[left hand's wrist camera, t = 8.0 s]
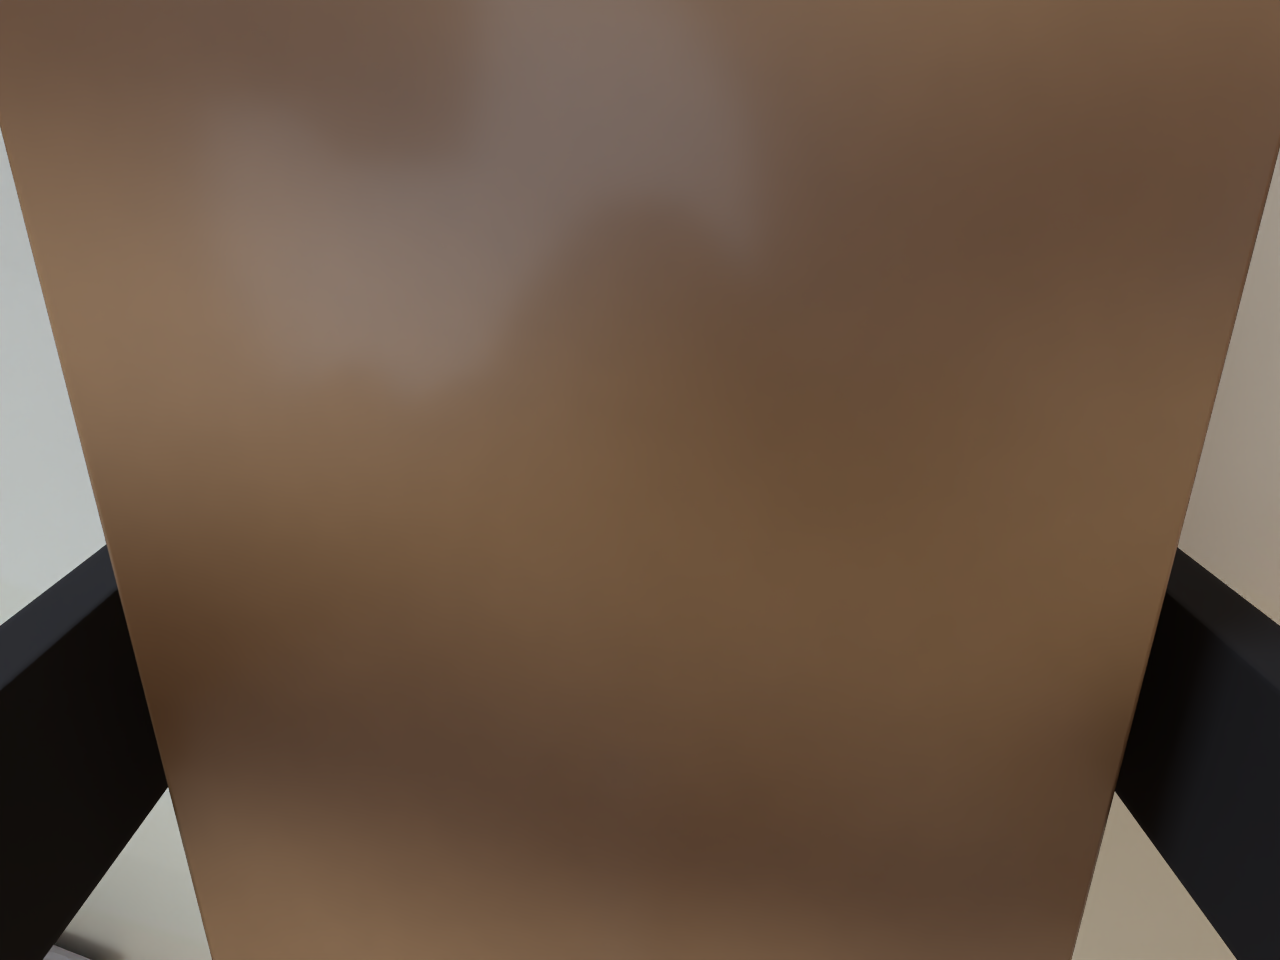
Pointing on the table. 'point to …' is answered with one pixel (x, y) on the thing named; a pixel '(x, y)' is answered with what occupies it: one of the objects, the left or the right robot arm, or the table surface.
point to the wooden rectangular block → (641, 446)
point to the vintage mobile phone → (62, 954)
